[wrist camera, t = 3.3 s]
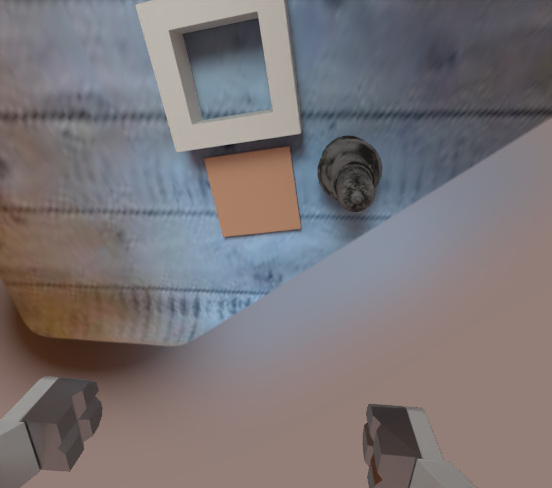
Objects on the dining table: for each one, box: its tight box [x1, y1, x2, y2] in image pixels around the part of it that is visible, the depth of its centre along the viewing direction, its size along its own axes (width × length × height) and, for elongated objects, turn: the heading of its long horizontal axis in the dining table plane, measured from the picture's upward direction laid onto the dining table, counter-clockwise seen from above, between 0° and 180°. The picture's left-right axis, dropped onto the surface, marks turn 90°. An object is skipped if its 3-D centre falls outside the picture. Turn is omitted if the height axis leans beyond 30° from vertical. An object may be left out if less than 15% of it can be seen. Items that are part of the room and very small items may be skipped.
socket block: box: [135, 0, 303, 152], centre depth 32 cm, size 12×12×4 cm
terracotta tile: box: [204, 146, 301, 237], centre depth 38 cm, size 9×9×1 cm
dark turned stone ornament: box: [318, 136, 382, 212], centre depth 31 cm, size 6×6×12 cm
